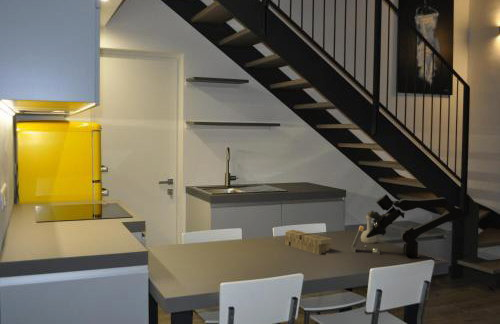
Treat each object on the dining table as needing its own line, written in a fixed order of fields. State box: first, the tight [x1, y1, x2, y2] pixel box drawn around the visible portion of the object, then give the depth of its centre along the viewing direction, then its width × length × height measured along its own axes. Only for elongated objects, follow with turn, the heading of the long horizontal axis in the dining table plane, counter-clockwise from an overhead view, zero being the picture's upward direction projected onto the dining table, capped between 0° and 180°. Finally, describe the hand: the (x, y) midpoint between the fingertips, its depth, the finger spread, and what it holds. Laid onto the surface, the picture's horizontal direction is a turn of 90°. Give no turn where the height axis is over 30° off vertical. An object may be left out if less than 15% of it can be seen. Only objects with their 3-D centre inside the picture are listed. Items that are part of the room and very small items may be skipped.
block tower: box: [284, 229, 332, 255], centre depth 277 cm, size 8×8×29 cm
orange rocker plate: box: [352, 225, 365, 247], centre depth 269 cm, size 2×5×13 cm, turn 171°
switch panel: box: [349, 243, 381, 256], centre depth 268 cm, size 20×13×4 cm, turn 80°
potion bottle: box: [360, 211, 378, 244], centre depth 292 cm, size 9×9×18 cm
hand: (366, 237), depth 268 cm, fingers closed
